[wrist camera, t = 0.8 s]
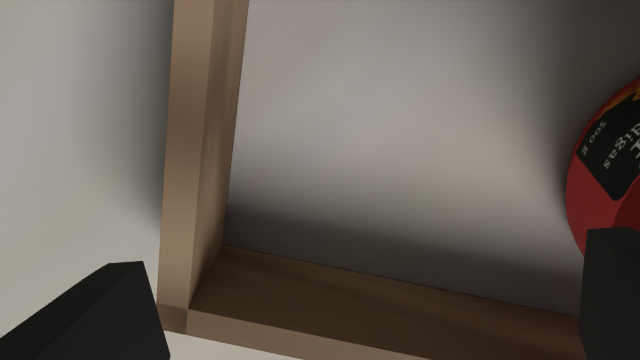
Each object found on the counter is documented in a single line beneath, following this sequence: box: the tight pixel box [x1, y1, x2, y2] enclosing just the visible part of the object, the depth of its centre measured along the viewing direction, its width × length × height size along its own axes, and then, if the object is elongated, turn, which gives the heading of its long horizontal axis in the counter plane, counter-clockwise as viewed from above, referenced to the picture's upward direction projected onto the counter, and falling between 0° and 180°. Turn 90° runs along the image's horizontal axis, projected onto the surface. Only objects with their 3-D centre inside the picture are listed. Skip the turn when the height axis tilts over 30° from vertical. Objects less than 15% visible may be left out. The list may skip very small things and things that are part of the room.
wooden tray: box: [156, 0, 587, 360], centre depth 17 cm, size 14×20×4 cm
